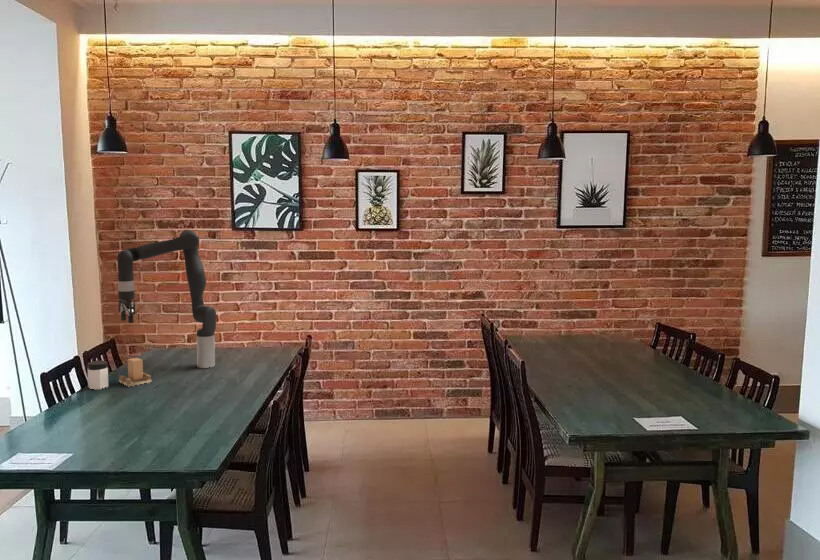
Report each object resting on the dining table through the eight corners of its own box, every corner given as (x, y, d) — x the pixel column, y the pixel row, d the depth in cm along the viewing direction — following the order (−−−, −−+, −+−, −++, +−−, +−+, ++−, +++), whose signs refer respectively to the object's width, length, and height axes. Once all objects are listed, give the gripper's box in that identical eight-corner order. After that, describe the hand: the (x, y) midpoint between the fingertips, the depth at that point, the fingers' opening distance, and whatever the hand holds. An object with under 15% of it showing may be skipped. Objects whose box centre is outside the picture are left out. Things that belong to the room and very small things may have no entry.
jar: (110, 388, 277) (109, 363, 276) (90, 390, 272) (89, 365, 270) (105, 383, 284) (104, 359, 282) (86, 386, 278) (85, 361, 277)
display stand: (119, 382, 286) (118, 375, 286) (141, 378, 294) (141, 371, 294) (128, 387, 279) (128, 380, 278) (151, 382, 287) (151, 375, 286)
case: (128, 379, 287) (127, 359, 286) (137, 377, 290) (136, 357, 289) (133, 381, 283) (133, 361, 282) (143, 379, 286) (142, 359, 285)
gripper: (140, 290, 291) (140, 322, 293) (127, 287, 301) (128, 318, 302) (124, 291, 286) (125, 324, 287) (112, 289, 295) (113, 320, 297)
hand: (127, 321), depth 295 cm, fingers open, 8 cm apart
